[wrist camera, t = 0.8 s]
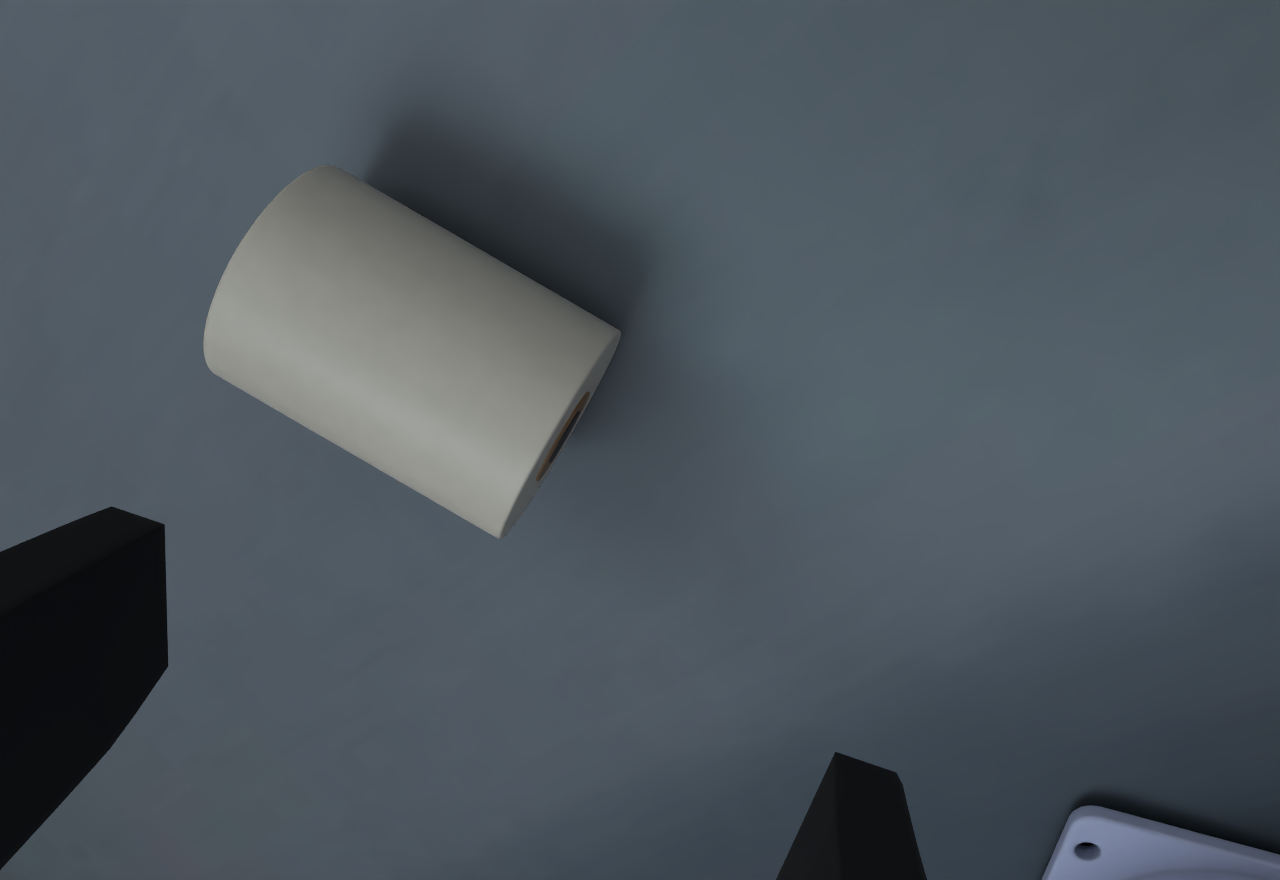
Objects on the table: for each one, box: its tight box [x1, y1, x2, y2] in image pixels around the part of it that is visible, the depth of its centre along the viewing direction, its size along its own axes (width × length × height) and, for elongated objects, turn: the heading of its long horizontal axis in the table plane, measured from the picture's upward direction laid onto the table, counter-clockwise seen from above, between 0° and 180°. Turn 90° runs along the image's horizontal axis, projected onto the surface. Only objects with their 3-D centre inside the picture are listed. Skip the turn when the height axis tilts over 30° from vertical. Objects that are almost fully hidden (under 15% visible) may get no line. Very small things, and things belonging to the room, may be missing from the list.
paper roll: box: [203, 165, 621, 539], centre depth 20 cm, size 6×4×4 cm
